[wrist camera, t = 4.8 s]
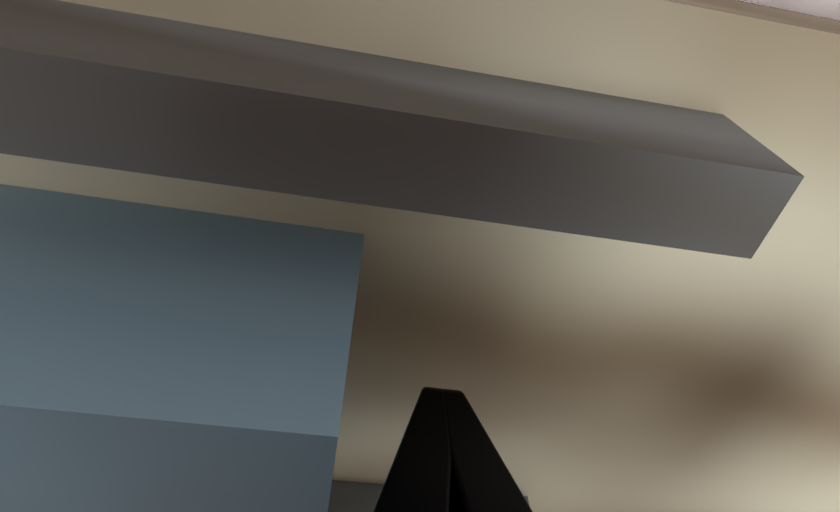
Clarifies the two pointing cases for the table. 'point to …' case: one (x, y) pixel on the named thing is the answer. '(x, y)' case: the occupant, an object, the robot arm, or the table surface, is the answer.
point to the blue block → (168, 357)
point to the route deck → (502, 214)
